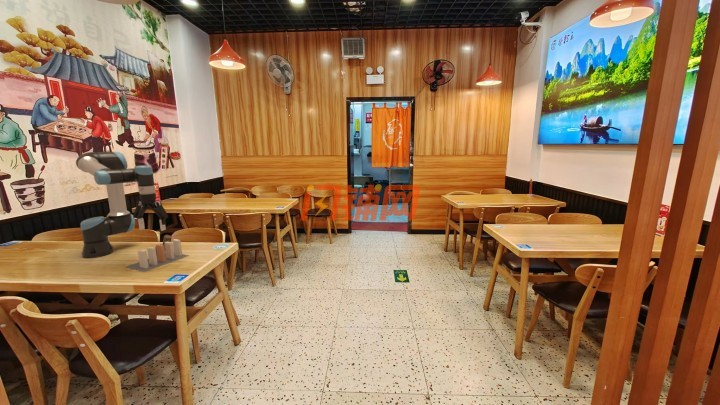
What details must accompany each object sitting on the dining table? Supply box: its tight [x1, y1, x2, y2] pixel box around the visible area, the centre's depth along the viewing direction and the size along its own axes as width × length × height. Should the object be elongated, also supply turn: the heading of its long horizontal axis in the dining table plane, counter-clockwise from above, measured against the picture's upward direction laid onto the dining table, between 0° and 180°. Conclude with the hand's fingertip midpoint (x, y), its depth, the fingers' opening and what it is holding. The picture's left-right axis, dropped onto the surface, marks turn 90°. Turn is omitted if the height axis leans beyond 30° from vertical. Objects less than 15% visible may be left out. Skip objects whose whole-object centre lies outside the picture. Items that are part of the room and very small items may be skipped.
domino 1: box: [137, 249, 149, 268], centre depth 162 cm, size 2×5×10 cm, turn 67°
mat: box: [124, 252, 190, 273], centre depth 172 cm, size 18×26×1 cm
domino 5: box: [171, 238, 183, 256], centre depth 180 cm, size 2×5×10 cm, turn 67°
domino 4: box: [164, 241, 174, 259], centre depth 176 cm, size 2×5×10 cm, turn 67°
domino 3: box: [155, 243, 166, 262], centre depth 171 cm, size 2×5×10 cm, turn 67°
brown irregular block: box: [154, 234, 172, 255], centre depth 188 cm, size 18×9×10 cm, turn 169°
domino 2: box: [146, 246, 158, 265], centre depth 167 cm, size 2×5×10 cm, turn 67°
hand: (152, 229), depth 166 cm, fingers open, 13 cm apart
